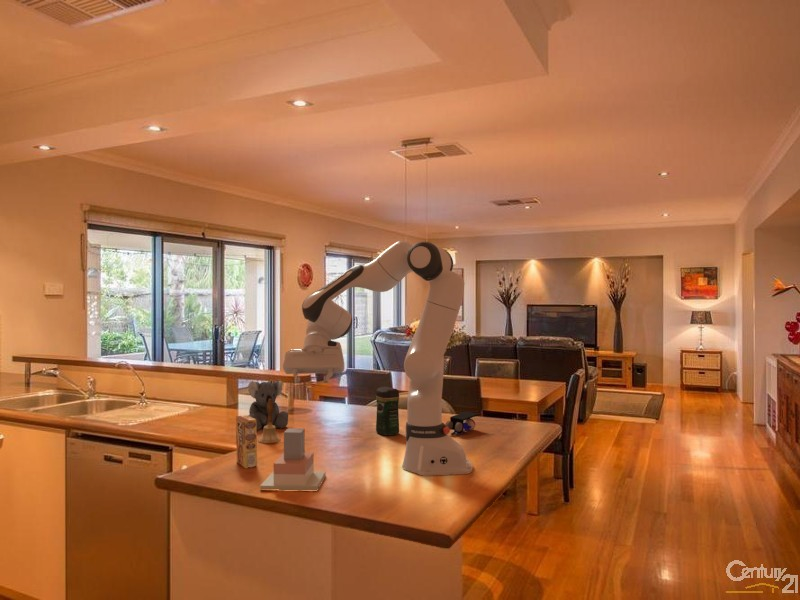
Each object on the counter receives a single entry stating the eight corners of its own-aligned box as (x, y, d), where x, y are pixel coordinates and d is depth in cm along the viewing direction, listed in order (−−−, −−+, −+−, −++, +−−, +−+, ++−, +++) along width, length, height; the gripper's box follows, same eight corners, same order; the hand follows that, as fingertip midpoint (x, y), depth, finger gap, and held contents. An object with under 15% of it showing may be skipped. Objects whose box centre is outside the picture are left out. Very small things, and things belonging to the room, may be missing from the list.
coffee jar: (402, 434, 228) (402, 387, 228) (385, 437, 223) (385, 389, 223) (389, 429, 236) (389, 384, 235) (372, 432, 231) (372, 386, 231)
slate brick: (304, 455, 170) (304, 428, 170) (300, 460, 165) (301, 432, 165) (288, 455, 170) (288, 428, 170) (283, 460, 165) (283, 432, 165)
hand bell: (273, 437, 223) (273, 396, 223) (284, 440, 217) (284, 398, 217) (254, 440, 217) (254, 398, 217) (265, 444, 212) (265, 401, 212)
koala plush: (247, 432, 231) (247, 384, 231) (240, 423, 248) (240, 378, 247) (290, 428, 238) (290, 381, 238) (280, 420, 255) (280, 376, 255)
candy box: (257, 466, 184) (257, 419, 184) (244, 469, 182) (244, 420, 182) (247, 460, 191) (247, 414, 191) (235, 462, 189) (235, 416, 189)
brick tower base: (325, 476, 174) (325, 451, 174) (316, 491, 160) (316, 465, 160) (273, 475, 175) (273, 451, 175) (260, 490, 161) (260, 464, 161)
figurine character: (459, 441, 223) (479, 429, 235) (458, 422, 222) (478, 411, 234) (445, 438, 227) (465, 427, 239) (443, 419, 227) (464, 409, 238)
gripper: (284, 343, 193) (277, 376, 184) (344, 342, 193) (341, 375, 183) (287, 355, 198) (281, 388, 188) (346, 354, 197) (343, 387, 187)
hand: (311, 382), depth 185 cm, fingers open, 8 cm apart
